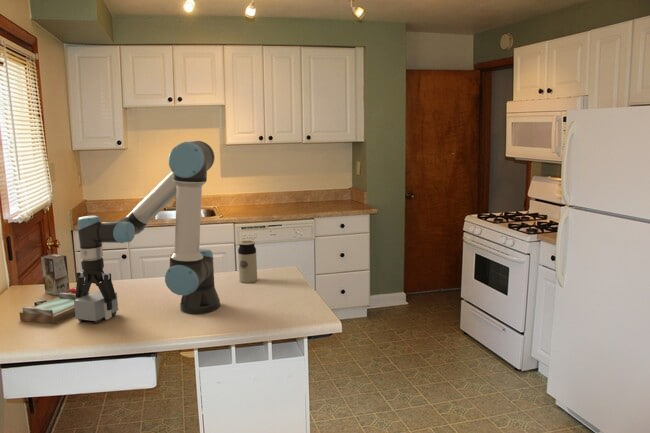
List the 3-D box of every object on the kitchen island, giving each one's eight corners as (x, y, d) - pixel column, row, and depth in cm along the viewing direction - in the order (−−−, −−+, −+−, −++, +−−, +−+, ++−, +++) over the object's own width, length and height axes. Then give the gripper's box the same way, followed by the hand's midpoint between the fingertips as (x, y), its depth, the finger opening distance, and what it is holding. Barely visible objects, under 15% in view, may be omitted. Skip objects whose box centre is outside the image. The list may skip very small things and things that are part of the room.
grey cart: (118, 313, 210) (116, 292, 208) (96, 325, 199) (94, 302, 197) (99, 311, 213) (97, 290, 211) (76, 322, 201) (73, 300, 200)
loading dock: (91, 307, 218) (90, 295, 217) (54, 324, 200) (53, 311, 199) (59, 303, 223) (58, 292, 222) (20, 320, 205) (18, 307, 204)
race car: (68, 304, 224) (67, 294, 223) (57, 302, 225) (56, 293, 225) (91, 294, 236) (90, 285, 236) (80, 293, 238) (79, 284, 237)
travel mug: (248, 277, 256) (246, 239, 253) (260, 280, 251) (259, 241, 248) (235, 281, 249) (234, 242, 246) (248, 284, 245) (247, 244, 242)
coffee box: (70, 291, 239) (67, 255, 236) (56, 295, 234) (52, 258, 231) (58, 288, 244) (54, 253, 241) (44, 292, 238) (40, 256, 236)
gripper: (60, 258, 202) (66, 317, 205) (109, 262, 195) (115, 323, 199) (75, 254, 209) (81, 311, 212) (123, 257, 202) (128, 316, 206)
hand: (97, 317), depth 205 cm, fingers closed on grey cart, 9 cm apart
